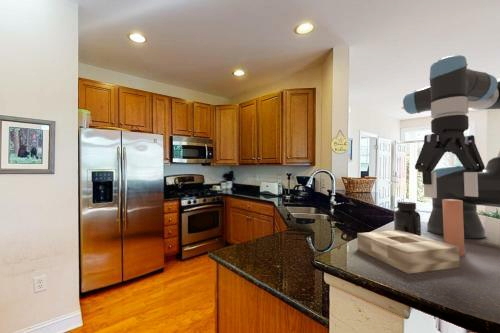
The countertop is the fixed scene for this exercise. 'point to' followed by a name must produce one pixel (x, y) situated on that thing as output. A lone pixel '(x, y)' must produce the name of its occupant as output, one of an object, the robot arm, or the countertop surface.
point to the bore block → (409, 251)
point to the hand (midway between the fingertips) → (451, 197)
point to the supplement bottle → (407, 218)
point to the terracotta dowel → (453, 224)
